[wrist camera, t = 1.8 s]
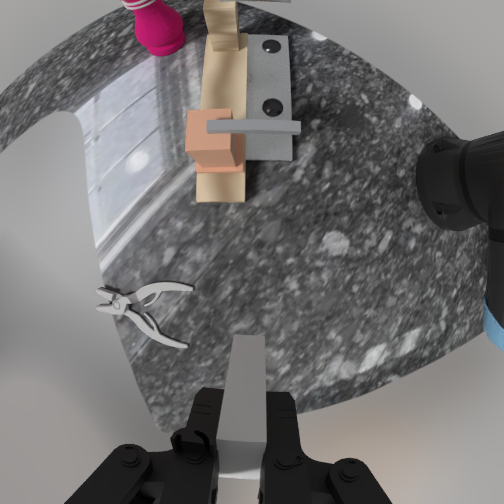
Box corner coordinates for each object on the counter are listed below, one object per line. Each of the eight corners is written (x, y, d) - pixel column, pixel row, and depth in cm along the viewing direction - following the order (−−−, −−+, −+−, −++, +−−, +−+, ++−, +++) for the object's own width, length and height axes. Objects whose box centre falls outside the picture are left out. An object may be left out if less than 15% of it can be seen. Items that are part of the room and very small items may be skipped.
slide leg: (285, 135, 32) (299, 101, 21) (285, 173, 32) (301, 153, 21) (199, 135, 32) (177, 102, 21) (198, 173, 32) (173, 154, 21)
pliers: (185, 352, 37) (96, 328, 36) (188, 347, 38) (101, 325, 38) (191, 287, 35) (96, 268, 35) (194, 285, 37) (101, 266, 37)
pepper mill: (151, 66, 32) (94, -11, 12) (142, 39, 31) (93, -33, 12) (194, 47, 32) (160, -42, 12) (181, 21, 31) (150, -60, 11)
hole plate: (287, 39, 32) (287, 35, 31) (291, 162, 34) (292, 160, 33) (248, 38, 32) (247, 34, 31) (245, 161, 34) (245, 159, 33)
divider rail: (280, 41, 32) (290, -14, 19) (283, 202, 35) (301, 195, 22) (209, 41, 32) (194, -12, 19) (199, 202, 35) (170, 194, 22)
